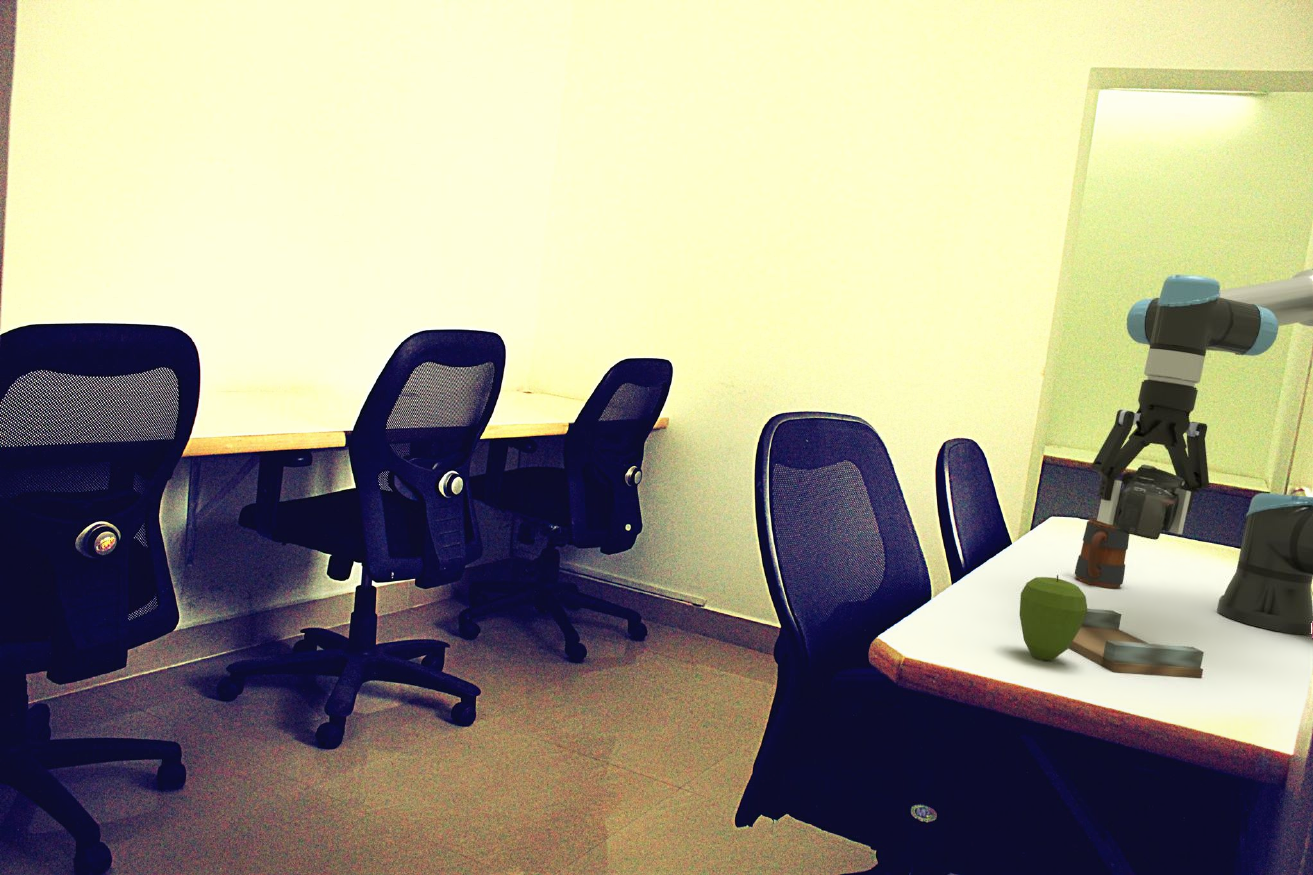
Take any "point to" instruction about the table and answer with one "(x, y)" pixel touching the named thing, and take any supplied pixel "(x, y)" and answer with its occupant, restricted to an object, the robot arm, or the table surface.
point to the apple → (1051, 615)
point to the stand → (1131, 649)
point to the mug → (1102, 555)
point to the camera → (1147, 502)
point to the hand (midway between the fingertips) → (1139, 527)
